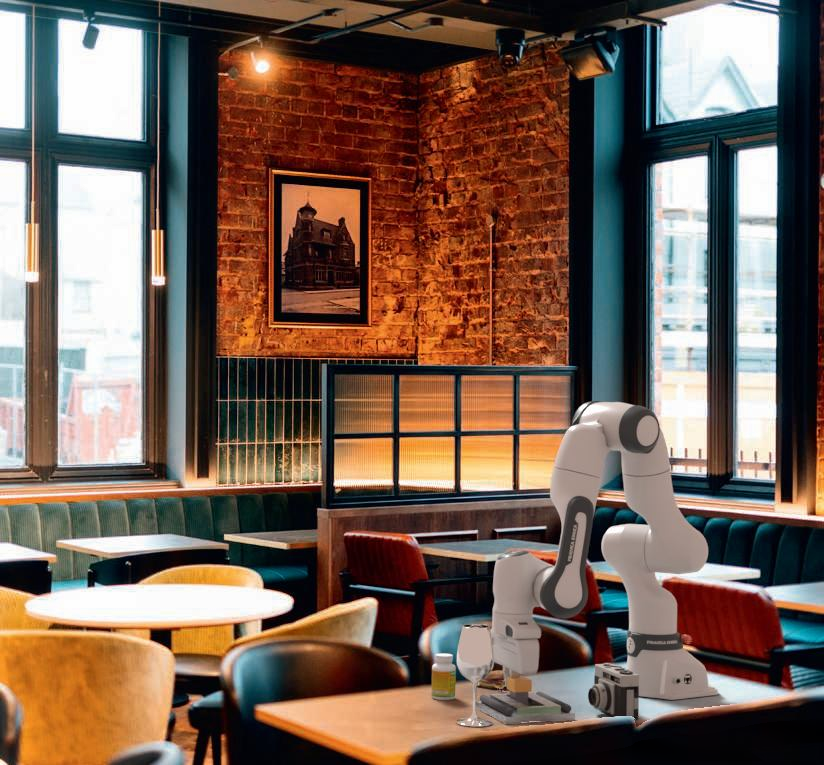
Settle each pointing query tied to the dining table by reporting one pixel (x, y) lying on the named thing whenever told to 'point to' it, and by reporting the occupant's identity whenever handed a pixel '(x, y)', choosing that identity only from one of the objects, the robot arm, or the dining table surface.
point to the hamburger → (494, 680)
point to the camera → (615, 691)
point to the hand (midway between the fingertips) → (511, 688)
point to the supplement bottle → (443, 677)
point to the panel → (526, 709)
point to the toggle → (519, 688)
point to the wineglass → (475, 664)
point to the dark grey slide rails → (509, 711)
